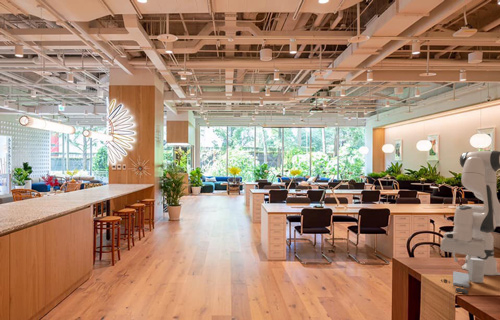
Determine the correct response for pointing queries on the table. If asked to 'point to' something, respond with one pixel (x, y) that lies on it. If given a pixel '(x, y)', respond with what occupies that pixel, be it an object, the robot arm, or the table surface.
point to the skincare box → (476, 270)
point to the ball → (461, 261)
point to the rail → (462, 290)
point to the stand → (445, 280)
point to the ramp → (460, 279)
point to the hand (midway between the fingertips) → (461, 262)
